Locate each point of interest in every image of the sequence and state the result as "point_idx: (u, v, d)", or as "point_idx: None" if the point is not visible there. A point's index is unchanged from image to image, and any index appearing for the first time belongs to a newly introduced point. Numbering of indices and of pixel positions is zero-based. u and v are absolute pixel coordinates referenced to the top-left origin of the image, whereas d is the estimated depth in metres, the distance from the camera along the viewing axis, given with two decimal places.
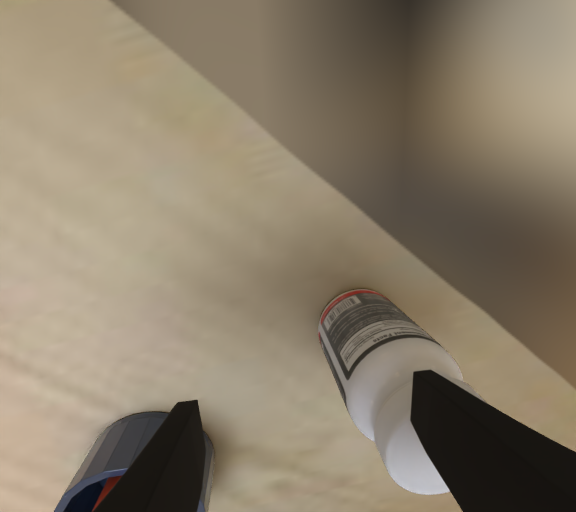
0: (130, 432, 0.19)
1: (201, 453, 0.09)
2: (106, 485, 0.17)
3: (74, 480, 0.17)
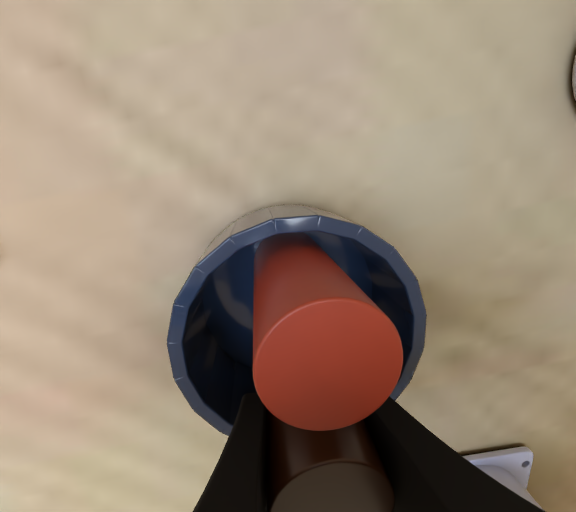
0: (281, 208, 0.11)
1: None
2: (268, 259, 0.09)
3: (208, 251, 0.09)
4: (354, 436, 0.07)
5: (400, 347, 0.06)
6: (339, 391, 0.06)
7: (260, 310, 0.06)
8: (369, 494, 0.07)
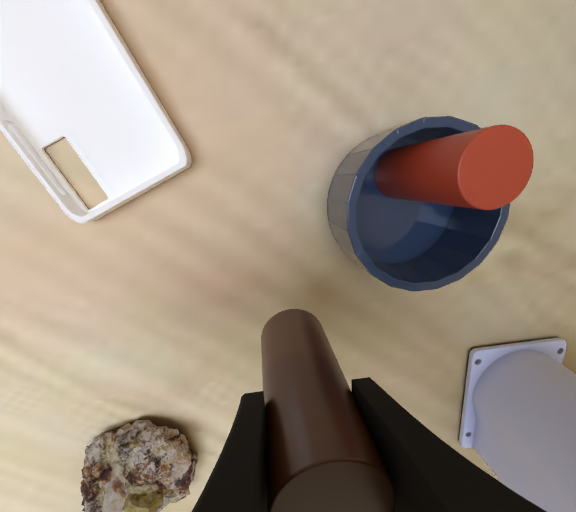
0: None
1: None
2: (414, 147, 0.14)
3: (374, 143, 0.14)
4: (354, 435, 0.07)
5: (532, 158, 0.10)
6: (498, 183, 0.11)
7: (443, 151, 0.11)
8: (369, 493, 0.07)
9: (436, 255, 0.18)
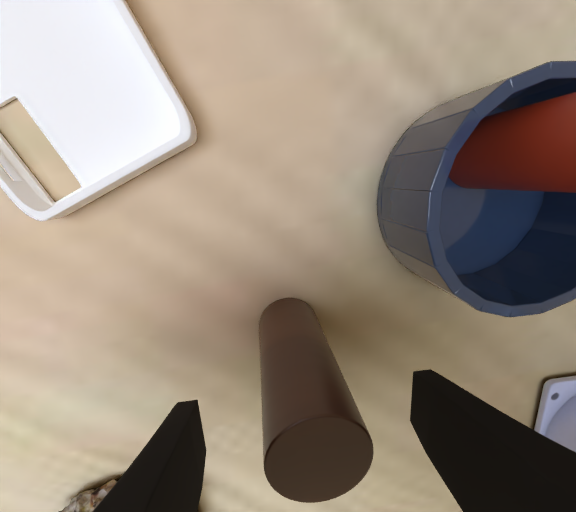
0: None
1: (201, 453, 0.09)
2: (529, 109, 0.09)
3: (470, 103, 0.09)
4: (338, 398, 0.08)
5: None
6: None
7: None
8: (351, 446, 0.08)
9: (523, 264, 0.14)
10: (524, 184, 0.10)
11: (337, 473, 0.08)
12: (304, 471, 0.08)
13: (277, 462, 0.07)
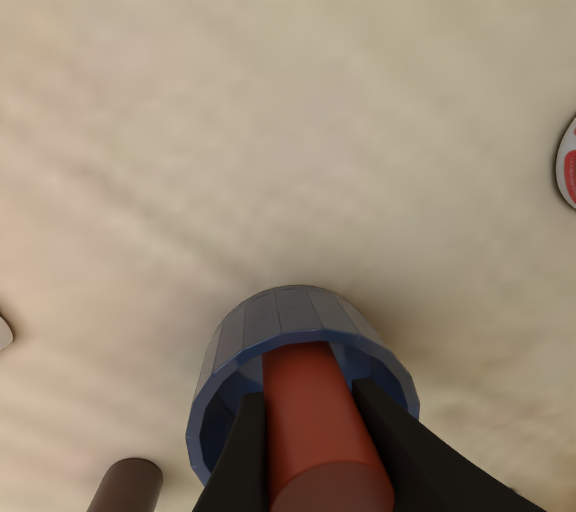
0: (287, 299, 0.12)
1: None
2: (276, 363, 0.10)
3: (222, 355, 0.10)
4: None
5: (392, 491, 0.07)
6: None
7: (272, 444, 0.07)
8: None
9: None
10: None
11: None
12: None
13: None
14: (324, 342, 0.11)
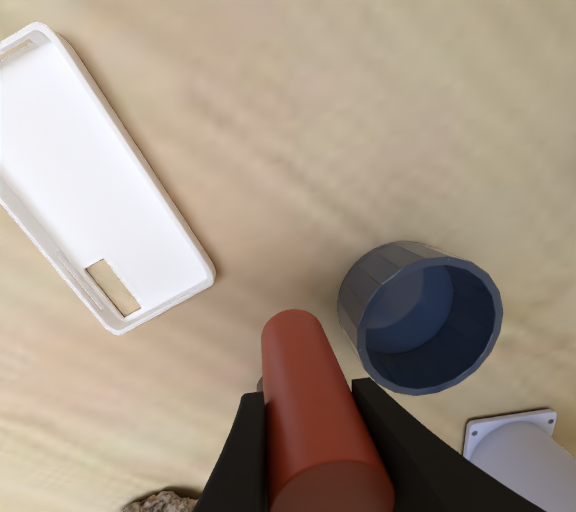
0: (408, 247, 0.18)
1: None
2: (276, 362, 0.10)
3: (381, 276, 0.16)
4: None
5: (392, 491, 0.07)
6: None
7: (272, 443, 0.07)
8: None
9: (436, 350, 0.20)
10: None
11: None
12: None
13: None
14: (324, 341, 0.11)
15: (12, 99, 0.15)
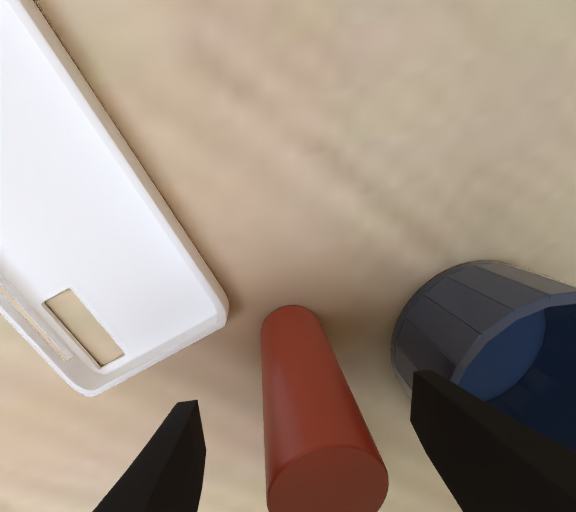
0: (501, 271, 0.13)
1: (201, 453, 0.09)
2: (275, 356, 0.10)
3: (478, 318, 0.11)
4: None
5: (386, 476, 0.07)
6: (336, 510, 0.07)
7: (271, 431, 0.08)
8: None
9: (525, 407, 0.15)
10: None
11: None
12: None
13: None
14: (322, 336, 0.12)
15: None
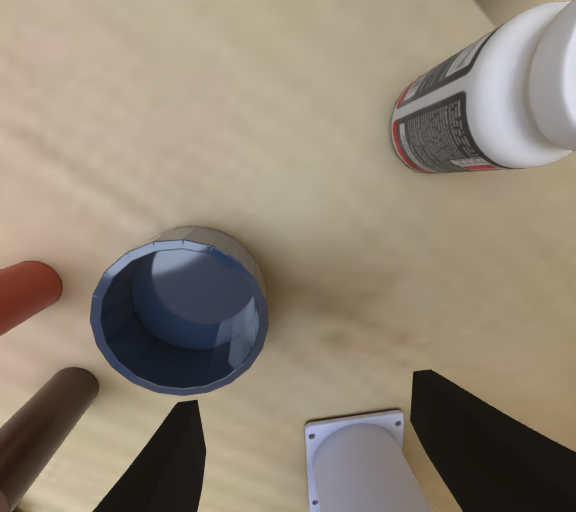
0: (177, 231, 0.16)
1: (201, 453, 0.09)
2: None
3: None
4: None
5: None
6: None
7: None
8: None
9: (234, 346, 0.18)
10: None
11: None
12: None
13: None
14: (17, 279, 0.15)
15: None
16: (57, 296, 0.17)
